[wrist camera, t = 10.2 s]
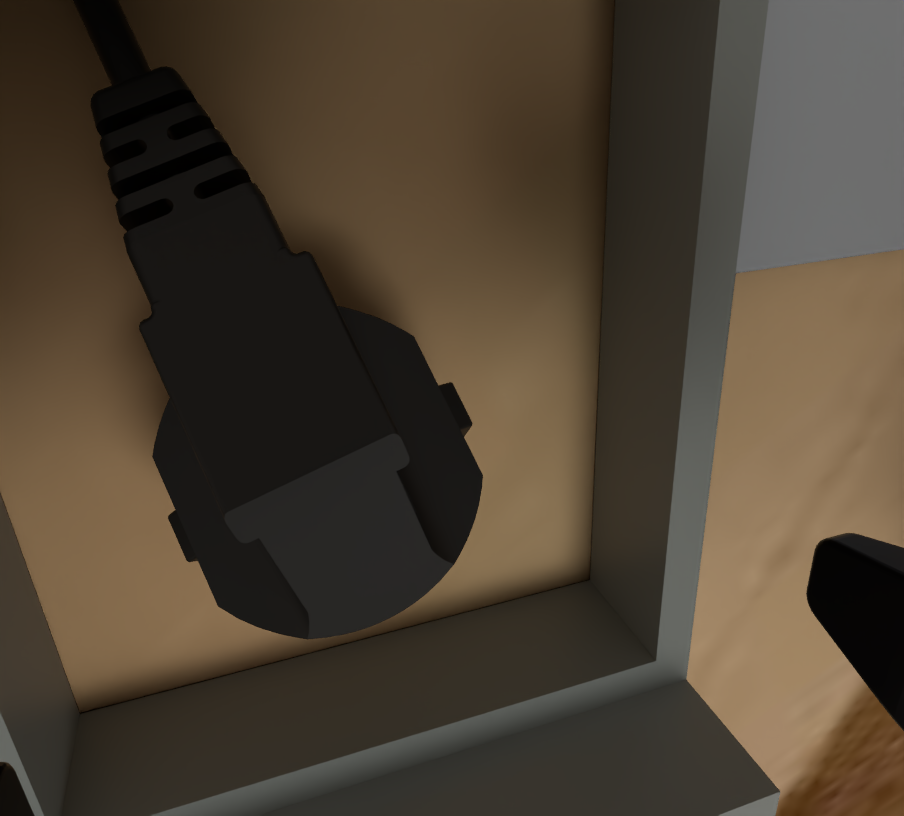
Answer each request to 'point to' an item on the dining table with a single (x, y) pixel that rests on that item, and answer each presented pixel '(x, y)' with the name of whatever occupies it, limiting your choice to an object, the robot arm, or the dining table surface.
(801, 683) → the dining table surface
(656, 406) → the case
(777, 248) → the mat
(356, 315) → the power plug
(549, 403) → the dining table surface
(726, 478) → the dining table surface
